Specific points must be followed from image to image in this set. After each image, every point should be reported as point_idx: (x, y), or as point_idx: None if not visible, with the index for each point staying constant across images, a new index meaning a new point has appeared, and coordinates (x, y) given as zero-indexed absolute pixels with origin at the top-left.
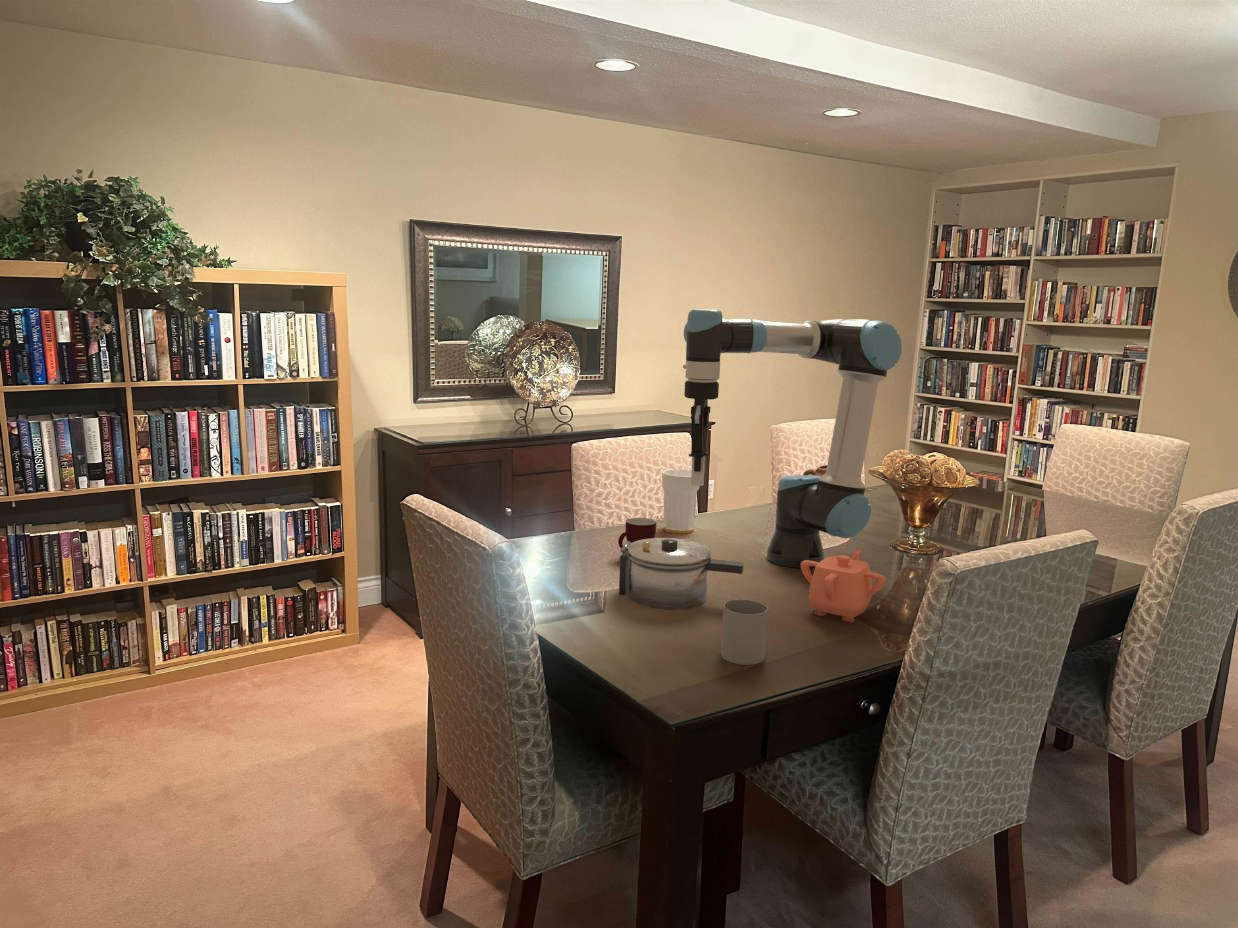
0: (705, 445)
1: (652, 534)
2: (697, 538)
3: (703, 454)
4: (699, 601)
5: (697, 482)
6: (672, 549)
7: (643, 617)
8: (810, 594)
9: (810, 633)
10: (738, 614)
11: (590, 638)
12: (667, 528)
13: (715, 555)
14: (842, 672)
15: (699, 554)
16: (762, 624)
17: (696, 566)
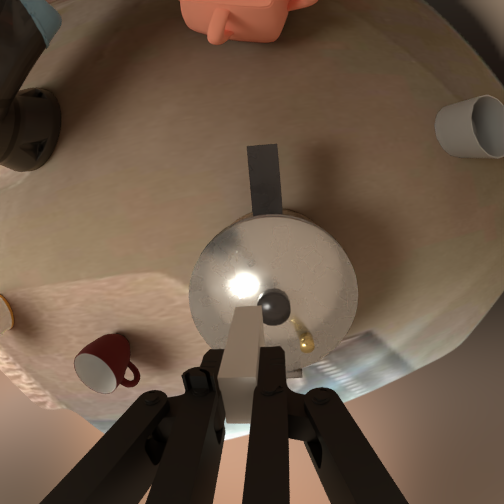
0: (155, 416)
1: (105, 347)
2: (12, 282)
3: (280, 391)
4: (299, 214)
5: (262, 330)
6: (287, 296)
7: (376, 279)
8: (277, 33)
9: (350, 44)
10: None
11: (450, 313)
12: (11, 324)
13: (54, 243)
14: (447, 27)
15: (289, 237)
16: (491, 105)
17: (326, 232)
